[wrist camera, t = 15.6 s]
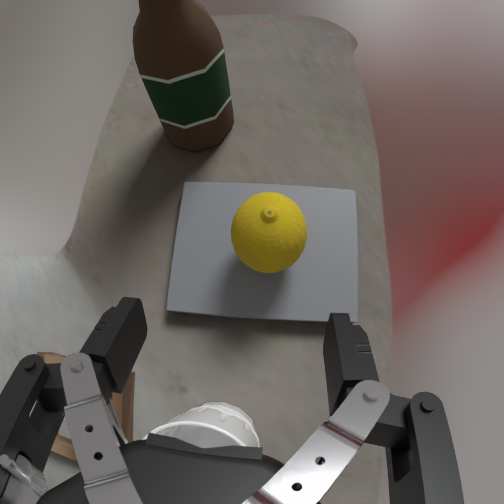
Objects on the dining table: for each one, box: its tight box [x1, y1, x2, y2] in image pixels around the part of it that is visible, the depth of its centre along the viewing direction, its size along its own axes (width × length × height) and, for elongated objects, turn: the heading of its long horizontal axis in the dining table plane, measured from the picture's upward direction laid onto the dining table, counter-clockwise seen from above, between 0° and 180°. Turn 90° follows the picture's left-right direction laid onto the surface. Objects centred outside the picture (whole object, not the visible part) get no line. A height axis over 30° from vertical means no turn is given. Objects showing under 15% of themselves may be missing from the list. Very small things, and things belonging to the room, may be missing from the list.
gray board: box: [166, 182, 358, 323], centre depth 28 cm, size 16×12×2 cm
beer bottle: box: [133, 0, 234, 152], centre depth 21 cm, size 8×8×24 cm
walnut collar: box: [36, 352, 135, 461], centre depth 24 cm, size 10×10×2 cm
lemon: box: [231, 192, 307, 273], centre depth 23 cm, size 6×6×8 cm
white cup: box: [142, 402, 260, 448], centre depth 19 cm, size 8×8×10 cm
